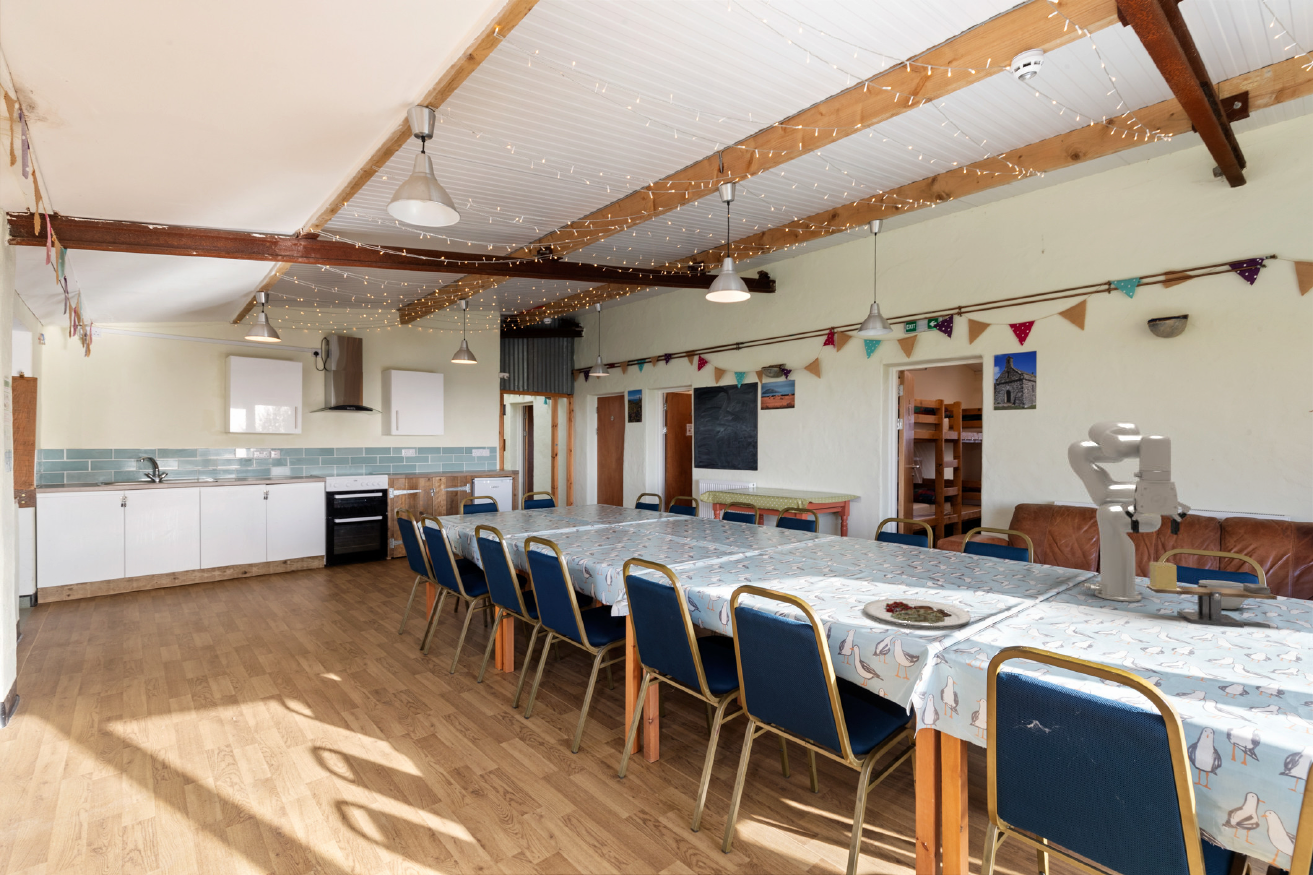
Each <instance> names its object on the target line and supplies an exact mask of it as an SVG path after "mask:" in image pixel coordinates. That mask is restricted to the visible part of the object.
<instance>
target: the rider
mask: <svg viewBox="0 0 1313 875" xmlns="http://www.w3.org/2000/svg"><path fill="white" fill-rule="evenodd" d="M1177 574H1178V573H1177V565H1176V564H1173V563H1171V562H1162V561H1160V562H1159V561H1149V584H1150V585H1151V586H1153V587H1154V588H1156V589H1174V590H1177V586H1178V580H1177V577H1178V576H1177Z"/></svg>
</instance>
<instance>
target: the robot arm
mask: <svg viewBox="0 0 1313 875" xmlns="http://www.w3.org/2000/svg"><path fill="white" fill-rule="evenodd" d="M1087 435H1088V437H1089V439H1081V440H1076V441H1074V442H1072V443H1071V444H1069V447H1068V448H1067V457H1068V458H1067V459H1068V464H1069V465H1070V468H1071V469H1072V470H1073V472H1074V473H1075V474H1076V476H1077V477H1078V478H1079V479H1080V480H1081V482H1082V483H1083V485H1084V487H1085V489H1086V491H1087V492H1088V495H1089V498H1091V500H1092V502H1093V504H1094V505H1095V506H1096V507H1097V510H1096V515H1095V516H1096V522H1097V525H1098V526H1097V527H1098V530H1099V554H1100V556H1099V557H1100V562H1099V564H1100V566H1099V567H1100V568H1099V569H1100V580H1097V582H1095V583H1088V582H1087V583H1086V582H1084V583H1083V588H1084V589H1085V590H1091V591H1095V592H1094V596H1096V597H1099V598H1101V599H1104V600H1109V601H1117V602H1129V603H1131V602H1132V603H1133V602H1134V603H1135V602H1140V601H1142V596H1141V595H1140V594H1138V593H1136V546H1135V544H1134V541H1133V540H1132V539H1131V538H1130V537H1129V536H1128V534H1127V533H1133V534H1136V535H1137V534H1139V533H1152V532H1155V531H1158V530H1159V529H1160V527H1161V525H1162V516H1169V517H1170V518H1171V519H1172V520H1170V534H1172V535H1174V536H1178V535H1179V533H1180V531H1181V530H1180V526H1181V525H1180V523H1181V522H1182V521H1183V520H1184V519H1185V518H1186V517H1187V516H1188V513H1189V512H1190V511H1191V509H1192V508H1191V506H1189V505H1187V504H1185V503H1183V502H1181V501H1179V499H1178V492H1177V486H1176V482H1175V481H1172V440H1171V438H1170V437H1169V436H1167V435H1156V434H1141V431H1140V428H1139V427H1138V425H1137V424H1135V423H1134V422H1132V421H1099V422H1097V423H1094V424H1092V425H1091V426H1090V427H1089V429H1088V432H1087ZM1126 459H1130V460H1131V459H1134V460H1135V459H1137V460H1138V461H1139V464H1138V467H1139V468H1138V469H1139V470H1138V471H1137V472H1133V477H1134V478H1137V479H1138V480H1136V482H1135V481H1118V480H1114V479H1113V478H1112V476H1111V474H1110V473H1109V471H1107V470H1106V469H1105V468H1104V467H1102V466H1101V465H1099V464H1115V463H1116V464H1117V463H1122V462H1123V461H1125V460H1126ZM1179 508H1180V509H1181V511H1180V512H1179Z"/></svg>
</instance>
